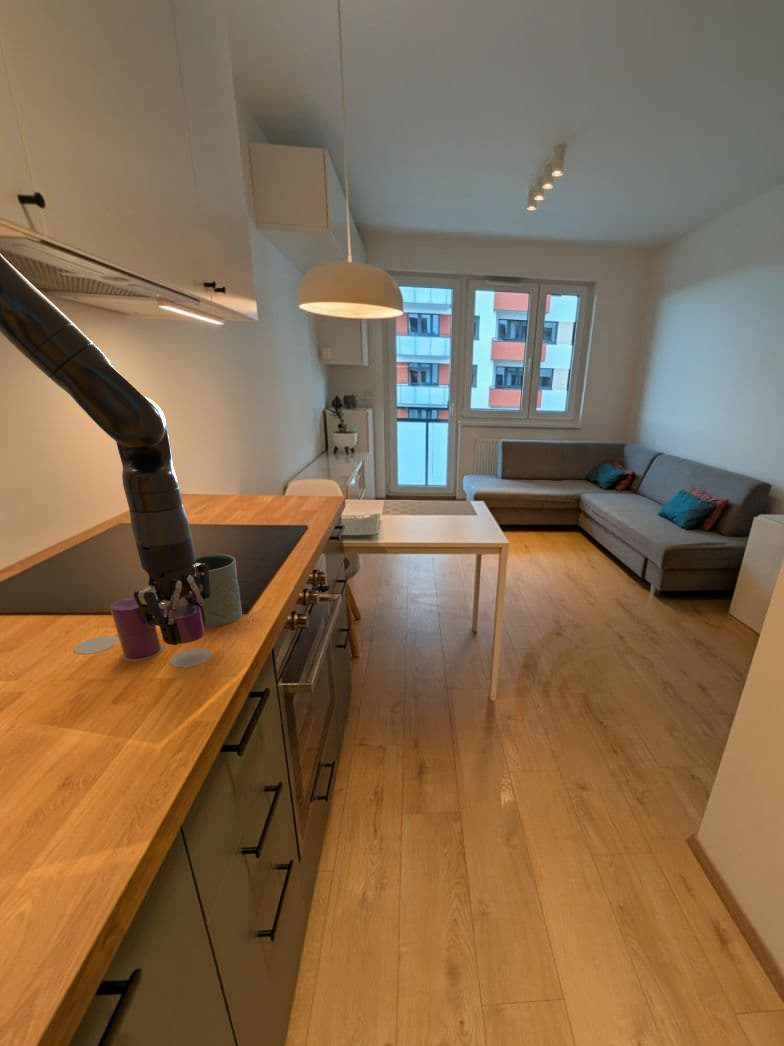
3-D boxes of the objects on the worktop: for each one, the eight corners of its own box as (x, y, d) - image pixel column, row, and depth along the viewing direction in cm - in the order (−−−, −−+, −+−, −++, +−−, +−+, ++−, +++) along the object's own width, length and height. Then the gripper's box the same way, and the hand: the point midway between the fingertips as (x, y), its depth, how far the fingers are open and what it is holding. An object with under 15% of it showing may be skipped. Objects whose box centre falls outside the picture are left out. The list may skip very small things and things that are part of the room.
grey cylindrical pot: (244, 626, 97) (234, 568, 92) (186, 634, 94) (172, 574, 89) (245, 606, 106) (236, 551, 101) (192, 612, 102) (179, 556, 98)
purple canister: (159, 641, 82) (153, 616, 80) (183, 626, 87) (178, 602, 85) (190, 645, 81) (184, 620, 79) (212, 629, 86) (207, 605, 84)
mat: (49, 662, 84) (48, 659, 84) (108, 630, 95) (107, 627, 95) (185, 682, 79) (185, 678, 79) (231, 645, 90) (231, 642, 90)
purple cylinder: (108, 633, 83) (101, 608, 81) (134, 618, 88) (128, 595, 86) (137, 637, 82) (131, 612, 80) (162, 622, 87) (156, 598, 85)
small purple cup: (115, 657, 85) (108, 633, 83) (141, 641, 90) (134, 618, 88) (144, 661, 84) (137, 637, 82) (168, 645, 89) (162, 622, 87)
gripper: (175, 522, 84) (195, 614, 91) (103, 548, 71) (133, 653, 78) (215, 525, 82) (232, 618, 89) (149, 552, 70) (175, 659, 76)
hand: (186, 634), depth 84 cm, fingers closed on purple canister, 5 cm apart
